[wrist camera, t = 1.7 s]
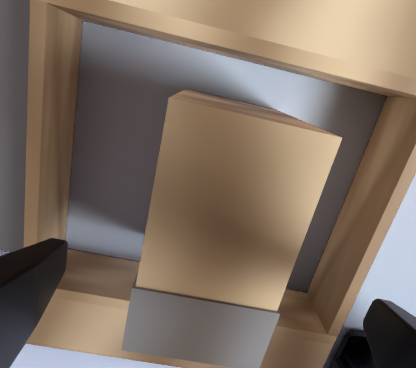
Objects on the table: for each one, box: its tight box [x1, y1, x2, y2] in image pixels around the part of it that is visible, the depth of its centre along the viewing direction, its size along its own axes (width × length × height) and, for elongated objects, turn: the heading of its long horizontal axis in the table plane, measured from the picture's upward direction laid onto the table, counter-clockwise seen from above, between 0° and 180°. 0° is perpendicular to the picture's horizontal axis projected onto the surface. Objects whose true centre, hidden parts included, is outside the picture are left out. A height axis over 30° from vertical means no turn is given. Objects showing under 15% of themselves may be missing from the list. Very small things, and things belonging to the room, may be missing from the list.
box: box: [121, 89, 342, 368], centre depth 13 cm, size 5×9×8 cm, turn 167°
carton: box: [24, 0, 416, 368], centre depth 16 cm, size 17×21×4 cm
